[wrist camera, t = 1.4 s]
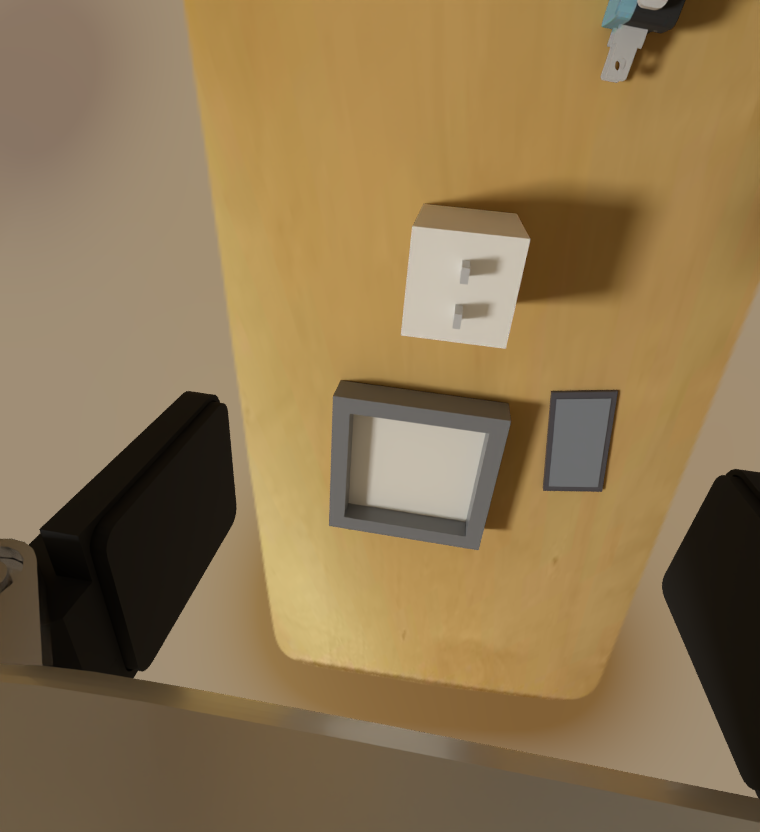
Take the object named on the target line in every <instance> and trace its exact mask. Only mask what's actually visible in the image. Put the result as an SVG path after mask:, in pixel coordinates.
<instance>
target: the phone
mask: <svg viewBox="0 0 760 832" xmlns="http://www.w3.org/2000/svg"><path fill="white" fill-rule="evenodd" d="M617 394H618V391H617V390H579V391H551V398H550V410H549V422H548V434H547V445H546V457H545V469H544V480H543V491H593V492H602V488H603V482H604V476H605V469H606V463H607V457H608V450H609V444H610V438H611V431H612V425H613V419H614V413H615V406H616V400H617Z"/></svg>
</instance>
